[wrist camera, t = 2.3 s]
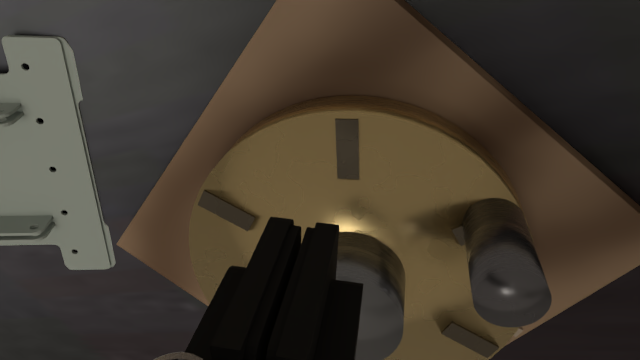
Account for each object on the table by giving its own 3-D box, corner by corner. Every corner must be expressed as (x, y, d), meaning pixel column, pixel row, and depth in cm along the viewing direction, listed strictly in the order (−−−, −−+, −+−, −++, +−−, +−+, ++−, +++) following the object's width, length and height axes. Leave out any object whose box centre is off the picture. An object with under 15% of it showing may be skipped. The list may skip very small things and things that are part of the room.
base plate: (655, 219, 22) (676, 246, 20) (381, 394, 32) (379, 424, 30) (328, -67, 19) (318, -65, 17) (134, 224, 29) (114, 246, 27)
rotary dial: (605, 248, 21) (674, 371, 15) (375, 396, 29) (363, 515, 23) (327, 15, 18) (285, 57, 13) (157, 247, 26) (82, 339, 20)
